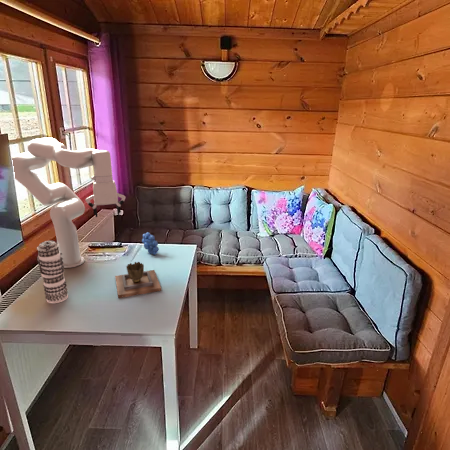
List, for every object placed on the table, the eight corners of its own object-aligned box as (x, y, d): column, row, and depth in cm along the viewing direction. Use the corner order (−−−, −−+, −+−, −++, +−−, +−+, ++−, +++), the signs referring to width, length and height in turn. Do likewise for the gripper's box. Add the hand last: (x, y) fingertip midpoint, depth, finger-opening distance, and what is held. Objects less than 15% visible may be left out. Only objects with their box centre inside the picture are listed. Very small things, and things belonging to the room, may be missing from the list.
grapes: (137, 253, 190) (135, 232, 185) (147, 249, 195) (145, 229, 191) (152, 259, 183) (150, 237, 179) (161, 254, 188) (160, 233, 184)
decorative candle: (45, 295, 150) (34, 240, 141) (69, 290, 153) (59, 237, 145) (44, 306, 142) (33, 249, 133) (69, 301, 145) (59, 245, 137)
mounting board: (118, 298, 147) (117, 292, 146) (115, 278, 163) (114, 272, 162) (161, 290, 153) (160, 284, 152) (154, 272, 169) (154, 266, 168)
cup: (130, 287, 153) (128, 270, 150) (126, 279, 159) (124, 263, 156) (147, 283, 156) (145, 267, 154) (142, 276, 162) (141, 260, 160)
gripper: (82, 181, 150) (87, 219, 156) (124, 179, 156) (127, 216, 162) (83, 178, 157) (87, 214, 163) (123, 175, 163) (126, 211, 168)
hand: (107, 215), depth 162 cm, fingers open, 9 cm apart
